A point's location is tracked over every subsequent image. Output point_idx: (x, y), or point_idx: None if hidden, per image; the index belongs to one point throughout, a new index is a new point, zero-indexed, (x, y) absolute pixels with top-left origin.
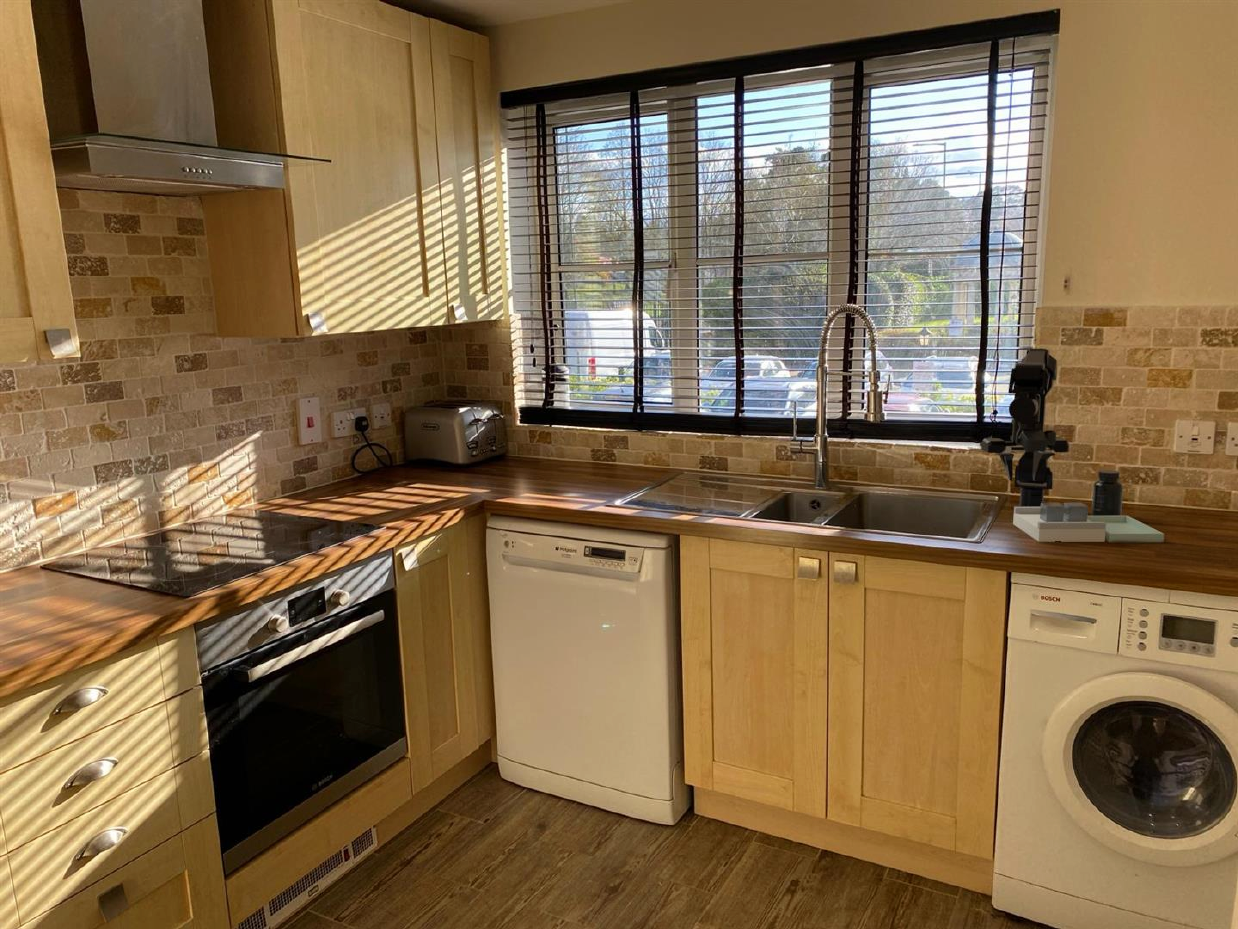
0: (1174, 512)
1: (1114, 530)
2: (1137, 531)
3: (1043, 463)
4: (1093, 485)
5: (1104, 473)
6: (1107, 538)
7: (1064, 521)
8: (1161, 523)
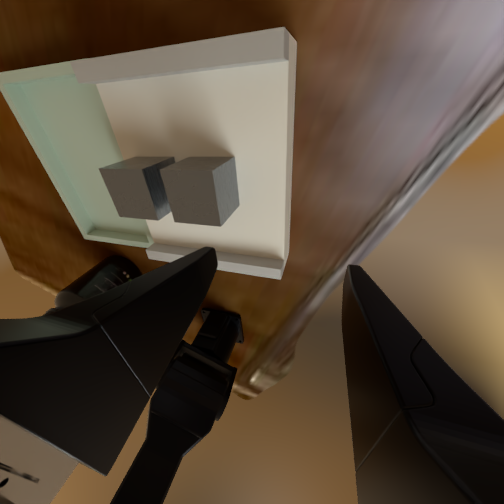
0: (57, 275)
1: None
2: (67, 159)
3: (91, 300)
4: None
5: None
6: None
7: None
8: (56, 226)
